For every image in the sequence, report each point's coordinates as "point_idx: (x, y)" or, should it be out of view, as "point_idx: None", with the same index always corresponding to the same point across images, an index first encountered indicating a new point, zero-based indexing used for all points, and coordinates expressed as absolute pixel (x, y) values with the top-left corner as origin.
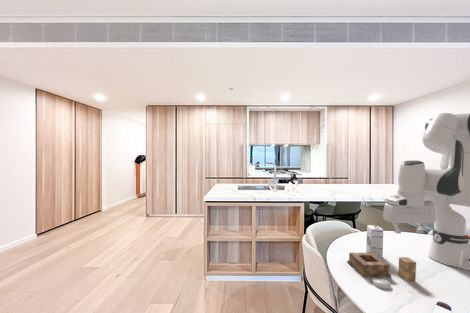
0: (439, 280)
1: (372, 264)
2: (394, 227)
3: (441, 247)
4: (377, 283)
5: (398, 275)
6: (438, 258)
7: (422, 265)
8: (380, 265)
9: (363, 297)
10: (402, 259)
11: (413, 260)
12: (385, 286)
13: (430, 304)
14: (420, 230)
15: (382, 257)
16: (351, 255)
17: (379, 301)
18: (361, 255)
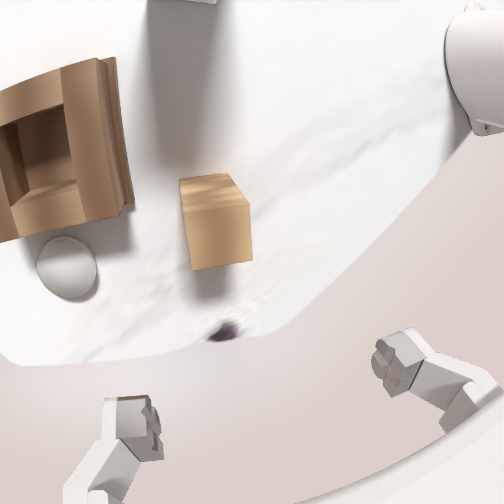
0: (340, 196)
1: (31, 231)
2: (95, 451)
3: (501, 77)
4: (48, 286)
5: (179, 180)
6: (458, 68)
7: (375, 79)
8: (70, 224)
9: (9, 334)
10: (187, 239)
11: (250, 243)
12: (70, 298)
13: (182, 339)
14: (392, 390)
15: (215, 2)
16: None
17: (43, 345)
18: (12, 121)
